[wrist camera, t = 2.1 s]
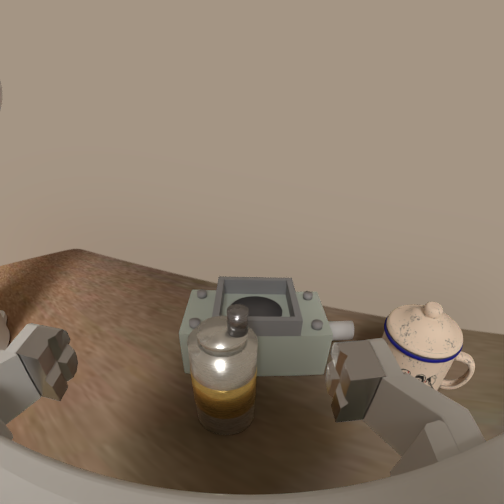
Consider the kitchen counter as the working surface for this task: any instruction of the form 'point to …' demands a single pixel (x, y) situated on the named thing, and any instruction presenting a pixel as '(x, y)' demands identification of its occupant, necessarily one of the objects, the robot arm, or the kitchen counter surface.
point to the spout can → (224, 371)
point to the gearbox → (271, 323)
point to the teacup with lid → (427, 344)
